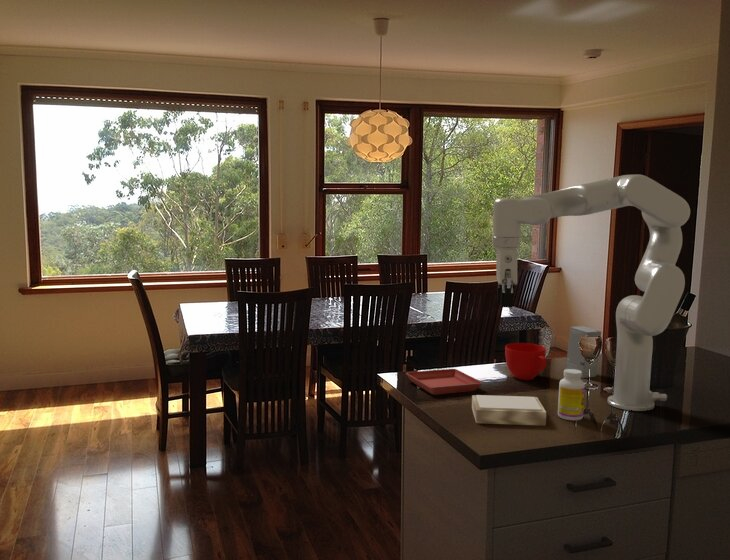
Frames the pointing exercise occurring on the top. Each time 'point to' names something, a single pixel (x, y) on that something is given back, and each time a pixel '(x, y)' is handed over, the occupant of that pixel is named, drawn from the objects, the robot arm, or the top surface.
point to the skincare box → (574, 354)
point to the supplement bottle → (571, 395)
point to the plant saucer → (444, 381)
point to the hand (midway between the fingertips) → (504, 304)
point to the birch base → (508, 410)
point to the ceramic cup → (525, 359)
